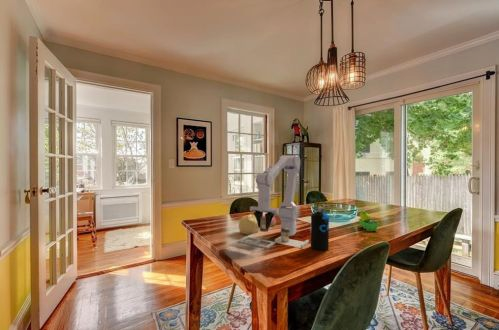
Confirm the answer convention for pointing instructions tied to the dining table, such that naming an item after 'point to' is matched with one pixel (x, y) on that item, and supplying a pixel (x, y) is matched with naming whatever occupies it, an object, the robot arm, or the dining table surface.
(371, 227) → the green lumpy piece
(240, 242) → the pin block
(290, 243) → the flanged base plate
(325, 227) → the aerosol can
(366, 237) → the dining table surface
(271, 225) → the donut
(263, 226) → the banded peg
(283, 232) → the plain peg
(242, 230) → the sculpture
